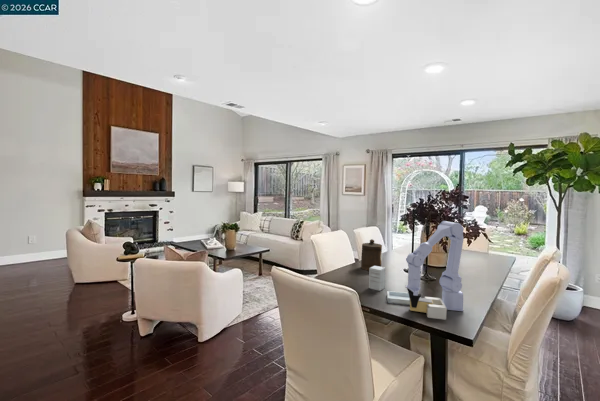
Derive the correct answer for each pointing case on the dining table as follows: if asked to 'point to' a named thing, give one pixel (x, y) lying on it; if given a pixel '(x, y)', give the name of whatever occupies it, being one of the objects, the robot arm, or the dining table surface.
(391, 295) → the tray
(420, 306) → the yellow rectangular block
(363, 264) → the wooden container
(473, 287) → the dining table surface
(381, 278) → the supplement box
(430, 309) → the bay
